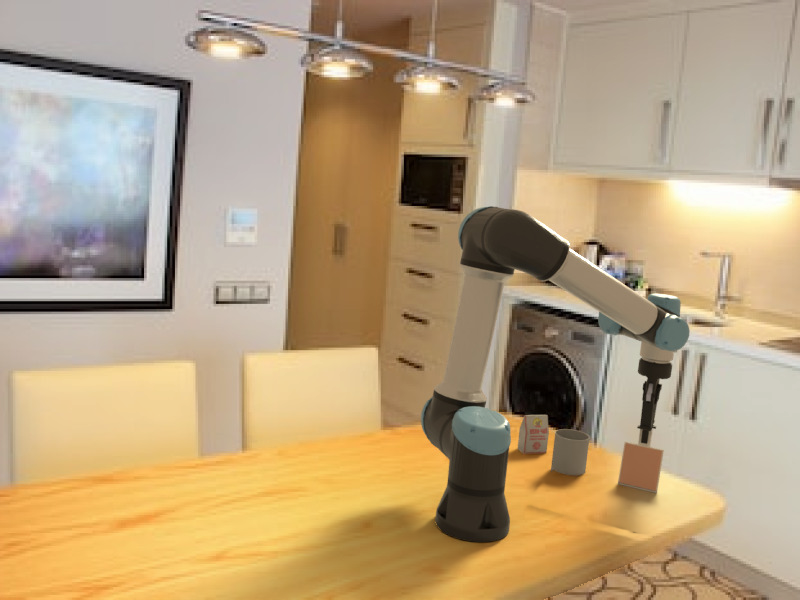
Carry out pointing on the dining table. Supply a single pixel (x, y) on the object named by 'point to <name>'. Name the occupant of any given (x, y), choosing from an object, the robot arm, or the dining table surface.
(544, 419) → the white printed box
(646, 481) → the tile
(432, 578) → the dining table surface
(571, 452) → the cup
